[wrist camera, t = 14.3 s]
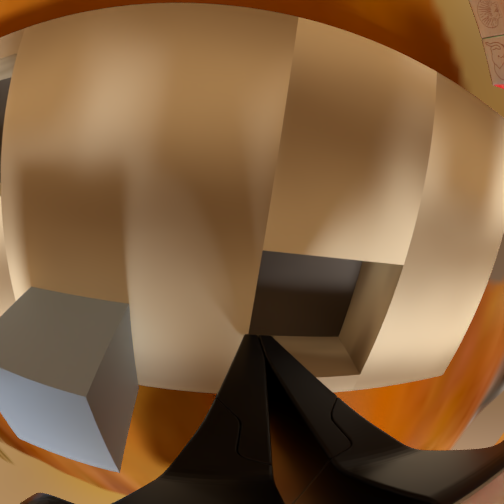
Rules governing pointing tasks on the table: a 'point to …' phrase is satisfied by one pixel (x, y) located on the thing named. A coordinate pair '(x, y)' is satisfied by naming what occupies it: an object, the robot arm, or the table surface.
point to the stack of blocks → (491, 35)
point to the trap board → (248, 190)
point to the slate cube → (69, 375)
